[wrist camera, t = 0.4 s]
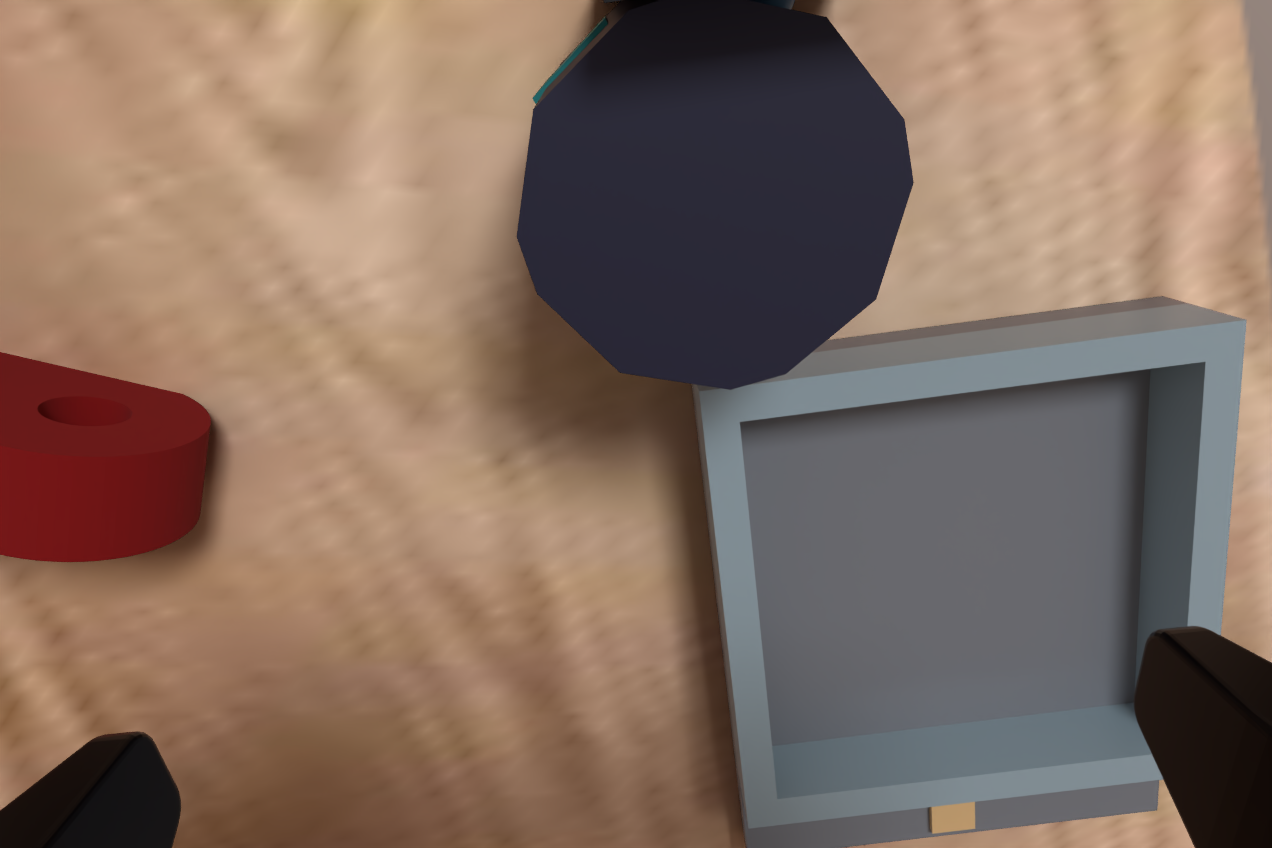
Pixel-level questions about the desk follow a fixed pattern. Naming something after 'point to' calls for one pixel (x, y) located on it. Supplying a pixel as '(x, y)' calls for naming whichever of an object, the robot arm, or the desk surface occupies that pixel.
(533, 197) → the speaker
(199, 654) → the desk surface
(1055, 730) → the tray
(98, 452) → the mechanical linkage
